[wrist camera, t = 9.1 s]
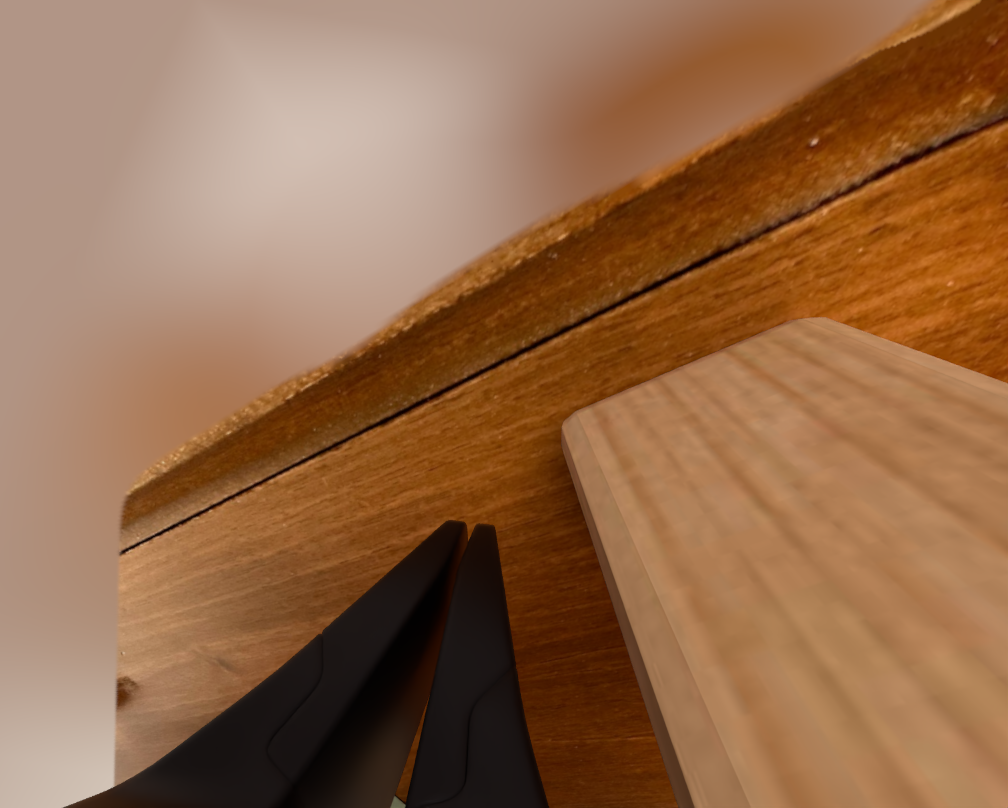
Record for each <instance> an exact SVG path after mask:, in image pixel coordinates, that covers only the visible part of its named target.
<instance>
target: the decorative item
mask: <svg viewBox="0 0 1008 808" xmlns="http://www.w3.org/2000/svg"><path fill="white" fill-rule="evenodd" d="M561 446H562V449H563V453H564V456H565V459H566V462H567V465H568V468H569V471H570V474H571V477H572V480H573V483H574V486H575V490H576V493H577V496H578V499H579V502H580V505H581V508H582V511H583V514H584V517H585V520H586V523H587V527H588V530H589V533H590V536H591V539H592V542H593V545H594V548H595V551H596V554H597V557H598V560H599V564H600V567H601V570H602V573H603V576H604V579H605V582H606V585H607V588H608V591H609V594H610V597H611V601H612V604H613V607H614V610H615V613H616V616H617V619H618V622H619V625H620V628H621V631H622V635H623V638H624V641H625V644H626V647H627V650H628V653H629V656H630V659H631V662H632V665H633V668H634V672H635V675H636V678H637V681H638V684H639V687H640V690H641V693H642V696H643V699H644V702H645V705H646V709H647V712H648V715H649V718H650V721H651V724H652V727H653V730H654V733H655V736H656V739H657V742H658V746H659V749H660V752H661V755H662V758H663V761H664V764H665V767H666V770H667V773H668V776H669V779H670V783H671V786H672V789H673V792H674V795H675V798H676V801H677V804H678V807H679V808H1008V383H1005V382H1002V381H999V380H997V379H994V378H991V377H988V376H986V375H983V374H980V373H977V372H975V371H972V370H969V369H966V368H964V367H961V366H958V365H955V364H952V363H950V362H947V361H944V360H941V359H939V358H936V357H933V356H930V355H928V354H925V353H922V352H919V351H917V350H914V349H911V348H908V347H906V346H903V345H900V344H897V343H895V342H892V341H889V340H886V339H884V338H881V337H878V336H875V335H872V334H870V333H867V332H864V331H861V330H859V329H856V328H853V327H850V326H848V325H845V324H842V323H839V322H837V321H834V320H831V319H828V318H826V317H820V318H804V319H797V320H790V321H788V322H785V323H783V324H781V325H778V326H776V327H773V328H771V329H769V330H766V331H764V332H762V333H759V334H757V335H755V336H752V337H750V338H747V339H745V340H743V341H740V342H738V343H736V344H733V345H731V346H729V347H726V348H724V349H721V350H719V351H717V352H714V353H712V354H710V355H707V356H705V357H703V358H700V359H698V360H696V361H693V362H691V363H688V364H686V365H684V366H681V367H679V368H677V369H674V370H672V371H670V372H667V373H665V374H662V375H660V376H658V377H655V378H653V379H651V380H648V381H646V382H644V383H641V384H639V385H637V386H634V387H632V388H629V389H627V390H625V391H622V392H620V393H618V394H615V395H613V396H611V397H608V398H606V399H603V400H601V401H599V402H596V403H594V404H592V405H589V406H587V407H585V408H582V409H580V410H577V411H575V412H574V413H573V414H572V415H571V416H570V417H568V418H567V419H566V420H565V421H564V422H563V425H562V437H561Z"/></svg>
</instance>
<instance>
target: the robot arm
mask: <svg viewBox="0 0 1008 808" xmlns="http://www.w3.org/2000/svg"><path fill="white" fill-rule="evenodd" d="M429 694H430V696H429ZM428 697H429V700H428ZM427 700H428V705H427V709H426V714H425V719H424V723H423V728H422V732H421V737H420V741H419V746H418V750H417V755H416V760H415V764H414V769H413V773H412V778H411V782H410V787H409V791H408V796H407V801H406V805H405V808H549V806H548V802H547V799H546V795H545V792H544V788H543V785H542V781H541V777H540V774H539V770H538V767H537V763H536V760H535V756H534V752H533V748H532V744H531V740H530V736H529V732H528V728H527V724H526V720H525V715H524V709H523V704H522V699H521V693H520V687H519V681H518V674H517V669H516V662H515V655H514V649H513V642H512V636H511V629H510V622H509V616H508V609H507V603H506V596H505V589H504V583H503V576H502V570H501V563H500V556H499V550H498V543H497V537H496V530H495V527H494V526H493V525H489V524H480V523H478V524H477V525H476V526H475V528H474V530H473V532H472V535H471V537H470V539H469V542H468V534H467V525H466V523H465V522H463V521H455V520H448V521H446V522H445V523H443V524H442V525H441V526H440V527H439V528H438V529H437V530H436V531H434V532H433V533H432V534H431V535H430V536H429V537H428V538H427V539H425V540H424V541H423V542H422V543H421V544H420V545H419V546H418V547H416V548H415V549H414V550H413V551H412V552H411V553H410V554H409V555H407V556H406V557H405V558H404V559H403V560H402V561H401V562H400V563H398V564H397V565H396V566H395V567H394V568H393V569H392V570H391V571H389V572H388V573H387V574H386V575H385V576H384V577H383V578H382V579H380V580H379V581H378V582H377V583H376V584H375V585H374V586H373V587H371V588H370V589H369V590H368V591H367V592H366V593H365V594H364V595H362V596H361V597H360V598H359V599H358V600H357V601H356V602H355V603H353V604H352V605H351V606H350V607H349V608H348V609H347V610H346V611H344V612H343V613H342V614H341V615H340V616H339V617H338V618H337V619H335V620H334V621H333V622H332V623H331V624H330V625H329V626H328V627H326V628H325V629H324V630H323V632H322V634H318V635H317V636H316V637H315V638H314V639H313V640H312V641H310V642H309V643H308V644H307V645H306V646H305V647H304V648H303V649H301V650H300V651H299V652H298V653H297V654H296V655H294V656H293V657H292V658H291V659H290V660H288V661H287V662H286V663H285V664H284V665H283V666H281V667H280V668H279V669H278V670H277V671H276V672H274V673H273V674H272V675H270V676H269V677H268V678H267V679H265V680H264V681H263V682H262V683H260V684H259V685H258V686H256V687H255V688H254V689H253V690H251V691H250V692H249V693H248V694H246V695H245V696H244V697H242V698H241V699H240V700H238V701H237V702H236V703H234V704H233V705H232V706H230V707H229V708H228V709H226V710H225V711H224V712H222V713H221V714H220V715H218V716H217V717H216V718H215V719H213V720H212V721H211V722H209V723H208V724H207V725H205V726H204V727H203V728H201V729H200V730H199V731H197V732H196V733H195V734H193V735H192V736H191V737H189V738H188V739H187V740H185V741H184V742H183V743H181V744H180V745H179V746H177V747H176V748H175V749H173V750H172V751H171V752H170V753H168V754H167V755H165V756H164V757H163V758H161V759H160V760H158V761H157V762H156V763H154V764H153V765H151V766H150V767H148V768H147V769H145V770H143V771H142V772H140V773H139V774H137V775H135V776H134V777H132V778H130V779H128V780H126V781H125V782H123V783H121V784H119V785H117V786H115V787H113V788H111V789H109V790H107V791H104V792H102V793H100V794H97V795H95V796H92V797H89V798H87V799H84V800H82V801H79V802H76V803H74V804H71V805H69V806H66V807H64V808H390V807H391V805H392V802H393V799H394V796H395V793H396V790H397V787H398V784H399V781H400V778H401V775H402V773H403V770H404V767H405V764H406V761H407V758H408V755H409V752H410V749H411V746H412V743H413V741H414V738H415V735H416V732H417V729H418V726H419V723H420V720H421V717H422V714H423V711H424V709H425V706H426V703H427Z"/></svg>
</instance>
